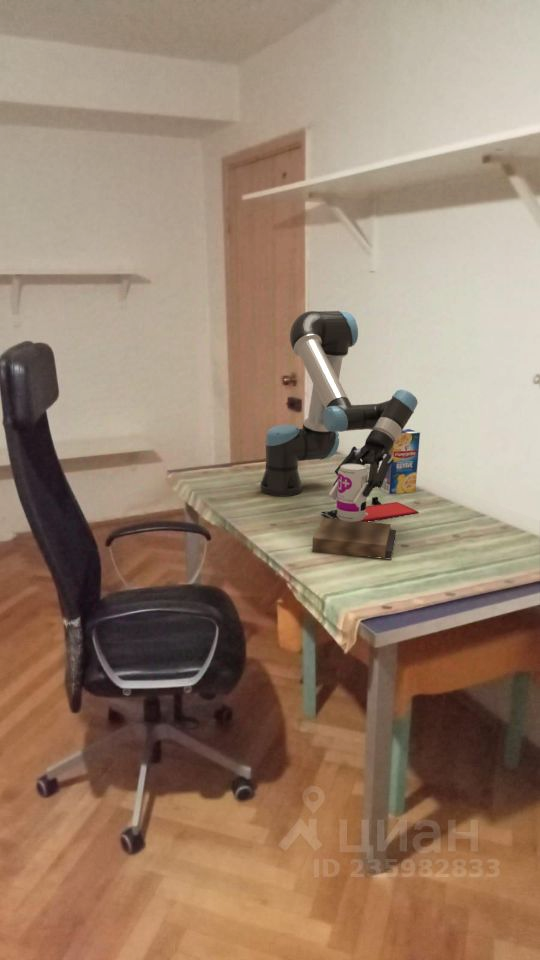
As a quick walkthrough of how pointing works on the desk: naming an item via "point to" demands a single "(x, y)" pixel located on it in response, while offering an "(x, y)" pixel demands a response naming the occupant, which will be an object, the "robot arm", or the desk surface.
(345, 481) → the supplement can
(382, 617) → the desk surface
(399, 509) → the red board with handle
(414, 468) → the beverage box
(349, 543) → the brown flat block
